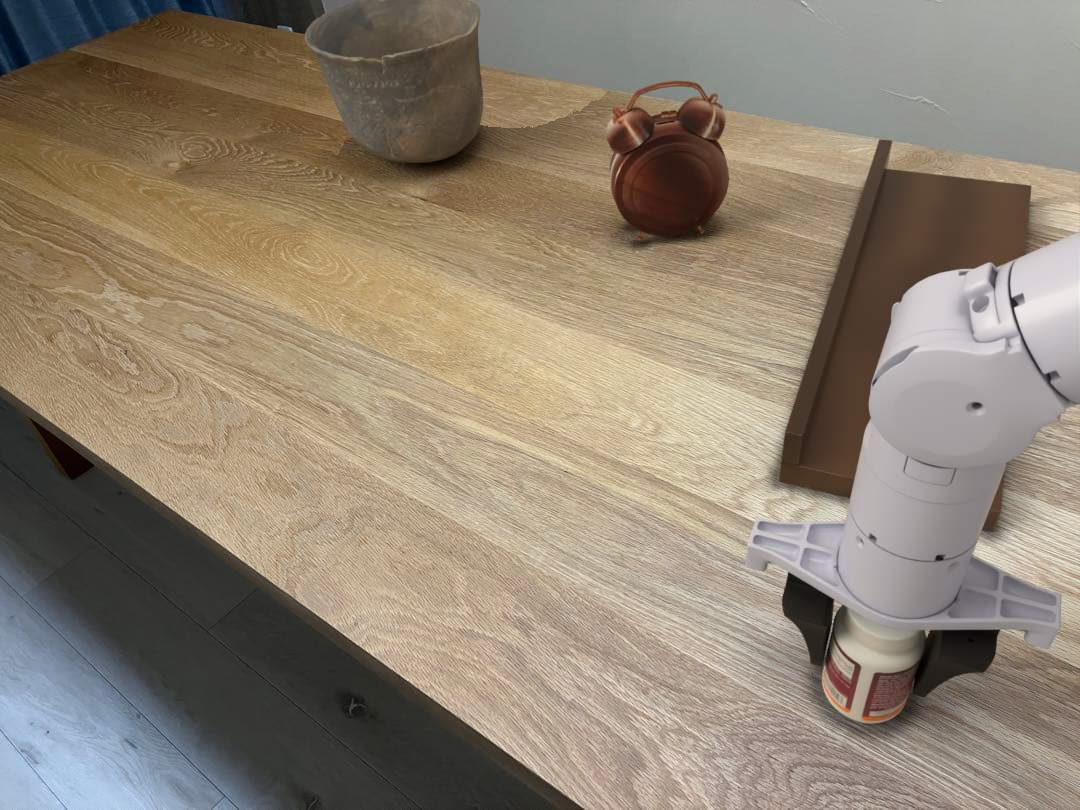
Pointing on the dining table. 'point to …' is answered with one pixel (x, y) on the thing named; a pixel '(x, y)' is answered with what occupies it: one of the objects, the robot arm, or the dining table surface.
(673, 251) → the dining table surface
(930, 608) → the robot arm
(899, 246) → the shelf
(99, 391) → the dining table surface
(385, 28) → the bowl
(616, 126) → the alarm clock
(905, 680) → the pill bottle
